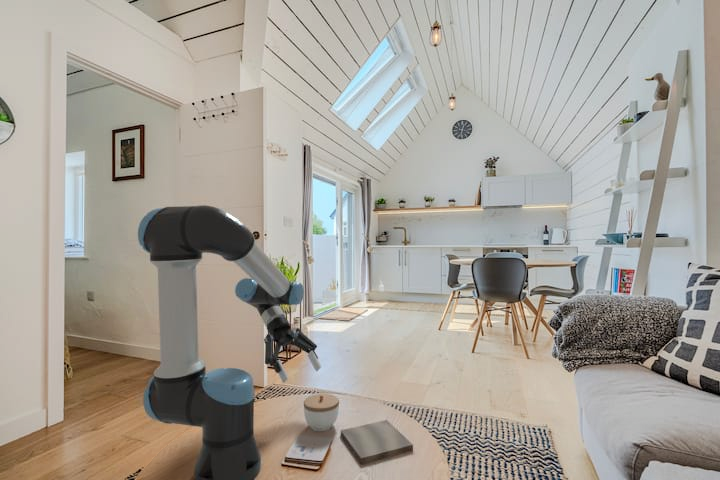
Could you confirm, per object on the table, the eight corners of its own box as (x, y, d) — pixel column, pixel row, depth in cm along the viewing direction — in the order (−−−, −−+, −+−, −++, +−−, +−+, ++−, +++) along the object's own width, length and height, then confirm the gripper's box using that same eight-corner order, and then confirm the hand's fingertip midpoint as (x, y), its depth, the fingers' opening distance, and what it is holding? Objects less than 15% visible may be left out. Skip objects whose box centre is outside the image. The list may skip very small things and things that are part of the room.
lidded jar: (337, 435, 100) (337, 402, 100) (300, 435, 100) (300, 402, 101) (340, 418, 111) (340, 388, 111) (307, 418, 111) (306, 388, 111)
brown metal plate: (361, 464, 86) (361, 458, 86) (340, 435, 100) (340, 430, 100) (413, 450, 92) (412, 444, 92) (386, 424, 106) (386, 419, 106)
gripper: (299, 323, 134) (325, 370, 124) (239, 334, 116) (265, 392, 105) (308, 310, 131) (336, 358, 121) (248, 320, 112) (275, 378, 102)
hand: (303, 374), depth 113 cm, fingers open, 13 cm apart
